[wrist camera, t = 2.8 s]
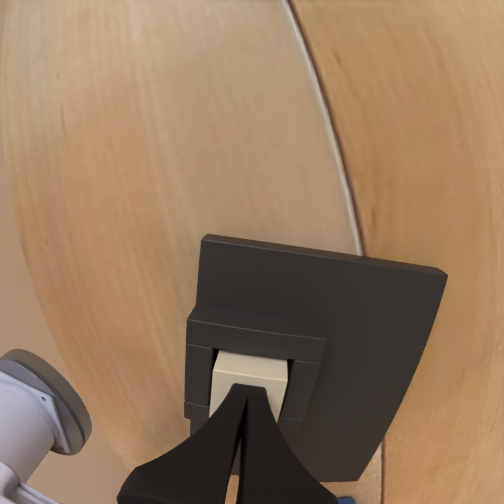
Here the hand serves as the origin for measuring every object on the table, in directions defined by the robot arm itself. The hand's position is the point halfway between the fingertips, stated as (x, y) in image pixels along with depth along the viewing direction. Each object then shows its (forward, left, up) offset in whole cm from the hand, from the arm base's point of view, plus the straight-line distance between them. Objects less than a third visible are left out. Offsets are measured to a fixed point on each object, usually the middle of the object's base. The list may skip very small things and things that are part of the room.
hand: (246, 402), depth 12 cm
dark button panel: (+3, -2, -4) cm, 6 cm away
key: (0, 0, -2) cm, 2 cm away
